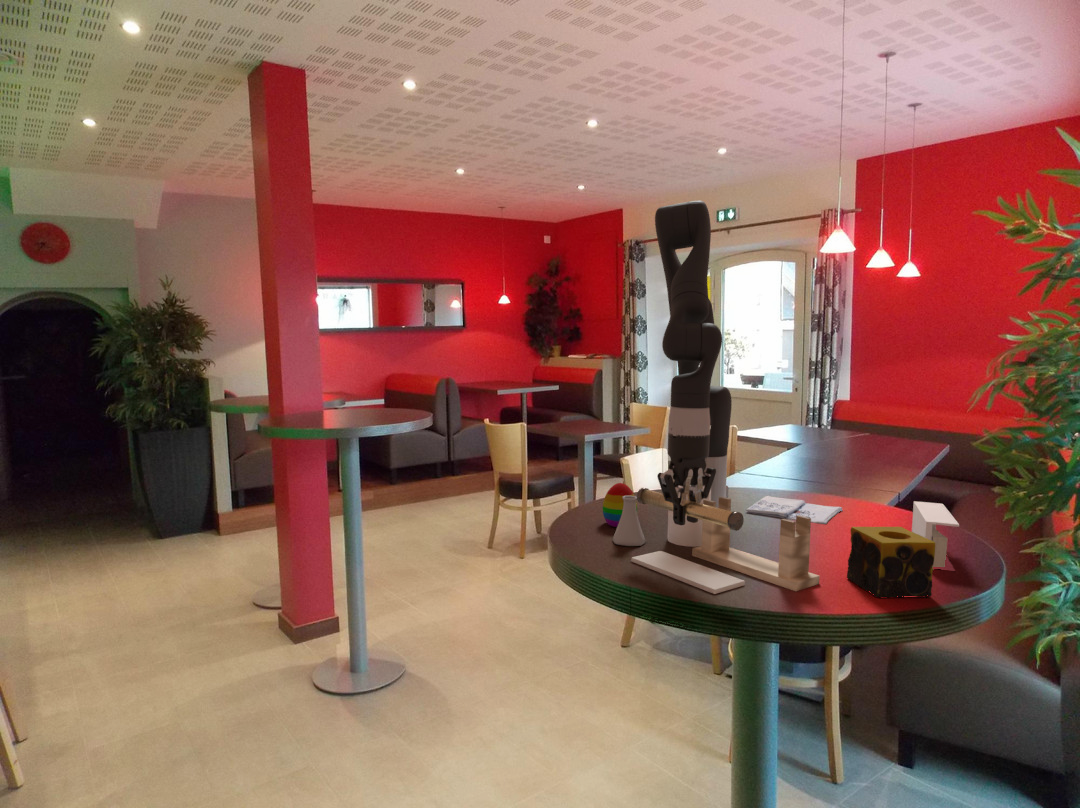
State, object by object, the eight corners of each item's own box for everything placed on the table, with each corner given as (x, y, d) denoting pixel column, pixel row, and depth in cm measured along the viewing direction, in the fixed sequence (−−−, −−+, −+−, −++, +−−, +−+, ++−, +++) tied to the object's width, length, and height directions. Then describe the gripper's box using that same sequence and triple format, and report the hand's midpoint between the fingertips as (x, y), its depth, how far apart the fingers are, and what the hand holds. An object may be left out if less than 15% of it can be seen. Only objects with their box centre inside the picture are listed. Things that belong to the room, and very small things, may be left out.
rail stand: (715, 549, 143) (717, 494, 142) (819, 583, 123) (822, 519, 122) (692, 555, 139) (694, 498, 138) (795, 591, 119) (798, 525, 118)
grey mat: (660, 554, 139) (660, 550, 139) (744, 585, 122) (744, 580, 122) (631, 561, 135) (631, 557, 135) (714, 594, 118) (714, 589, 118)
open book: (767, 501, 190) (767, 493, 190) (844, 512, 179) (845, 504, 179) (743, 514, 175) (743, 506, 175) (826, 528, 163) (827, 519, 163)
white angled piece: (956, 572, 131) (959, 524, 130) (923, 568, 133) (926, 521, 132) (938, 544, 149) (941, 502, 148) (910, 541, 151) (912, 499, 150)
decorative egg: (633, 520, 166) (634, 479, 165) (639, 529, 158) (640, 486, 157) (600, 520, 166) (601, 479, 165) (604, 529, 158) (605, 486, 157)
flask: (644, 548, 144) (646, 501, 143) (610, 546, 145) (611, 499, 144) (646, 538, 151) (647, 494, 150) (613, 536, 152) (614, 492, 151)
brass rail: (636, 504, 136) (637, 488, 136) (648, 502, 138) (648, 486, 138) (731, 531, 117) (731, 513, 117) (743, 529, 119) (744, 511, 119)
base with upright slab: (711, 537, 153) (713, 484, 151) (707, 548, 144) (709, 492, 143) (670, 533, 155) (672, 481, 154) (664, 543, 147) (666, 489, 146)
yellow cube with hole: (845, 579, 126) (848, 526, 126) (897, 578, 127) (900, 525, 126) (876, 599, 116) (880, 542, 115) (933, 598, 117) (937, 541, 116)
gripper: (699, 427, 133) (696, 514, 135) (647, 431, 125) (644, 523, 127) (730, 431, 127) (726, 522, 129) (677, 436, 119) (673, 533, 121)
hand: (685, 522), depth 128 cm, fingers closed on brass rail, 2 cm apart
